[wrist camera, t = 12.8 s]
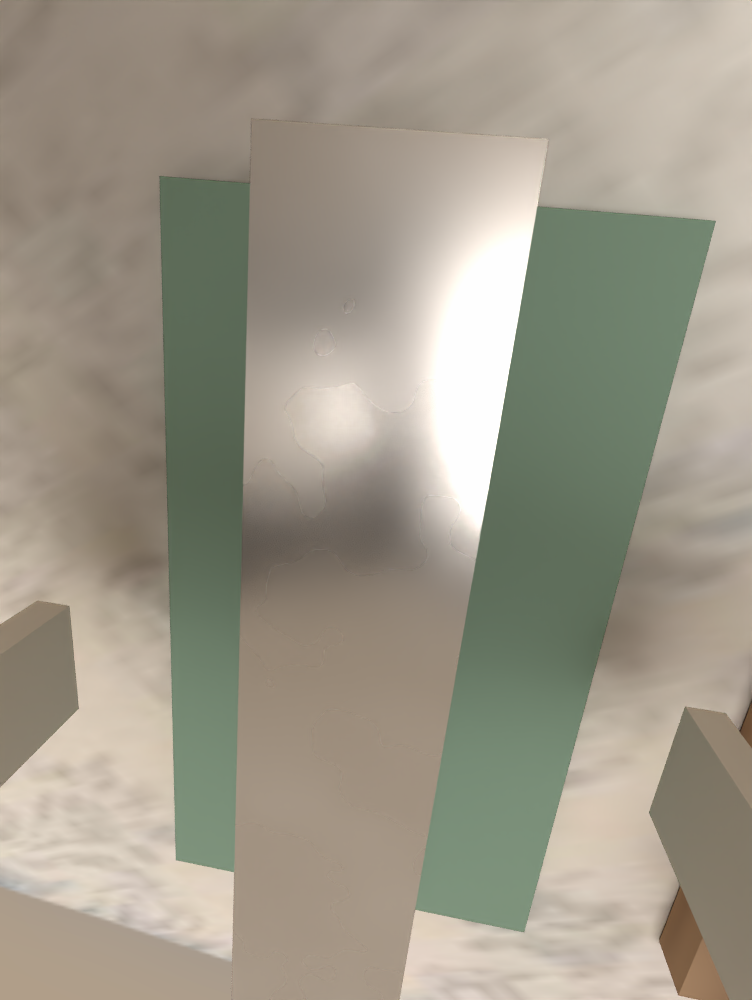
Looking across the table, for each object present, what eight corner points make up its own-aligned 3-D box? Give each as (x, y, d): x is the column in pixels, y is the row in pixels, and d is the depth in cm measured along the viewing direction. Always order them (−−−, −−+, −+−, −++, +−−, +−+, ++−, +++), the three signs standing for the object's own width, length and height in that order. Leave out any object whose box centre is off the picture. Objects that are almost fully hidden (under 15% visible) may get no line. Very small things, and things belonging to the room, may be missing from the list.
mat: (184, 844, 19) (175, 859, 18) (172, 183, 12) (159, 176, 12) (521, 913, 18) (524, 931, 17) (702, 226, 11) (715, 220, 11)
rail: (292, 873, 18) (229, 1091, 13) (338, 216, 12) (251, 118, 6) (397, 895, 17) (376, 1128, 12) (501, 230, 11) (549, 139, 6)
